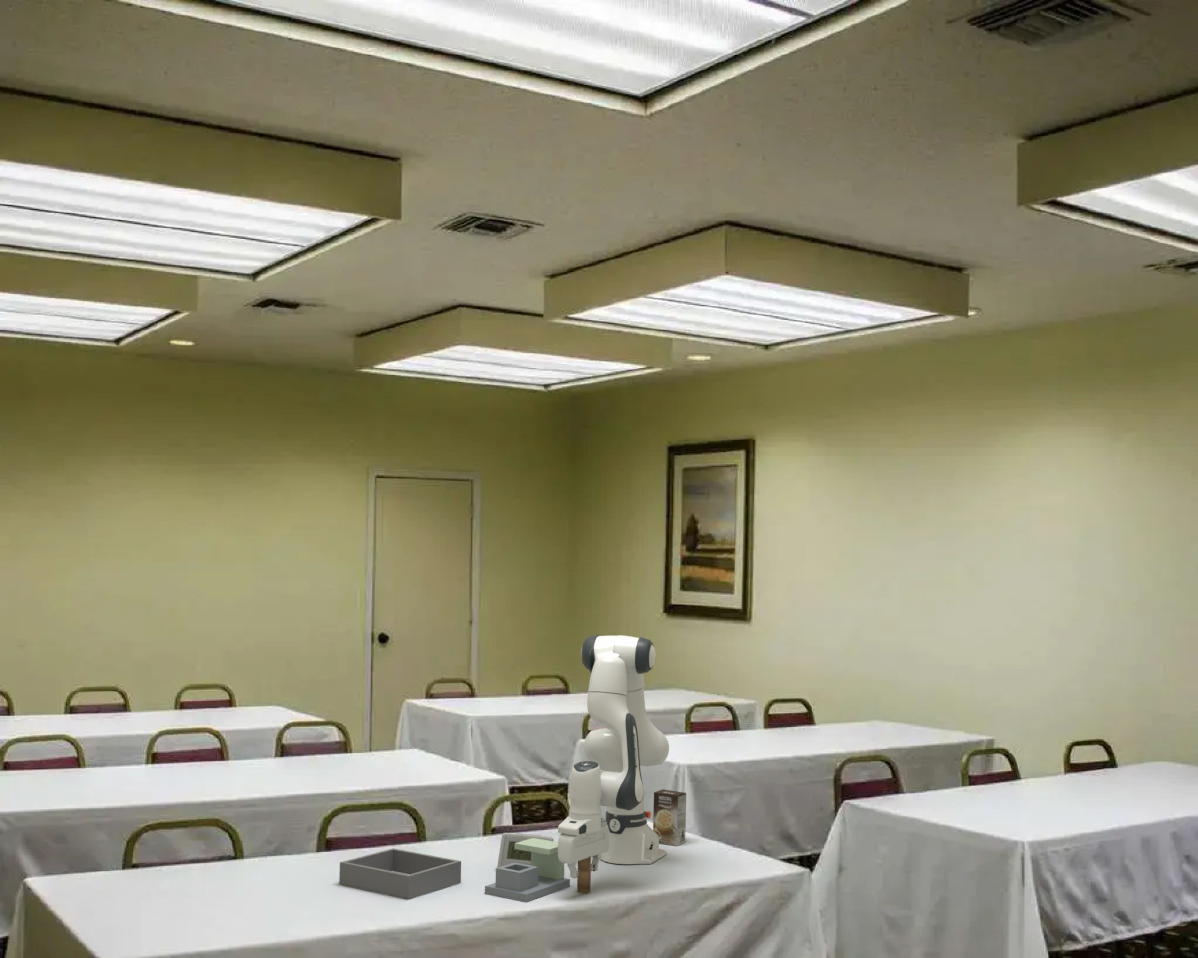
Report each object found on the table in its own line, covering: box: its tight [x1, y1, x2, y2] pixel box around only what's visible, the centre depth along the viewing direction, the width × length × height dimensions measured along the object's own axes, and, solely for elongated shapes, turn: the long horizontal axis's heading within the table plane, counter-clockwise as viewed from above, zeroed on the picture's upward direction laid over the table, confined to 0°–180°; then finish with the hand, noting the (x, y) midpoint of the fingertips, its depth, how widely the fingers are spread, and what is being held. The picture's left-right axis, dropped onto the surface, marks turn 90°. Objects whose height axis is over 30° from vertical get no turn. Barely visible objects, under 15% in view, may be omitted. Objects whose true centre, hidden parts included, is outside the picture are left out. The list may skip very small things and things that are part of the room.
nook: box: [484, 838, 571, 903], centre depth 351 cm, size 20×14×12 cm
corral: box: [338, 847, 462, 900], centre depth 355 cm, size 21×25×6 cm
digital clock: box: [496, 832, 555, 868], centre depth 370 cm, size 16×9×11 cm, turn 60°
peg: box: [576, 856, 592, 894], centre depth 350 cm, size 4×4×12 cm
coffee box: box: [652, 788, 687, 847], centre depth 412 cm, size 9×6×16 cm
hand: (584, 874), depth 350 cm, fingers open, 8 cm apart
